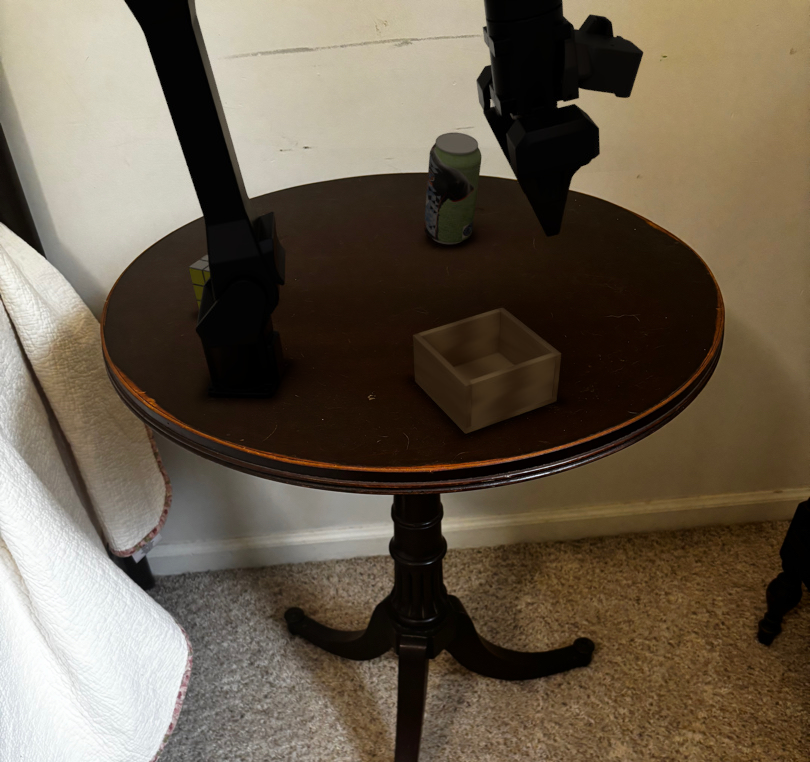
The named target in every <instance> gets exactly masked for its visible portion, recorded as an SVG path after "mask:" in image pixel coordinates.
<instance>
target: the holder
mask: <svg viewBox="0 0 810 762" xmlns="http://www.w3.org/2000/svg"><path fill="white" fill-rule="evenodd" d="M412 344H413V365H414V366H413V368H414V382H415V384H417V385H418V387H420V389H422V390H423V392H424V393H425V394H426V395H427V396H429V398H430V399H432V401H433V402H434V403H435V404H436V405H437V406H438V407H439V408H440V410H442V412H444V414H446V415H447V417H449V419H451V421H453V423H454V424H456V426H457V427H458V428H459V429H460V430H461V431H462V432H463V433H464V434H465V435H466V434H469V433H472V432H476V431H478V430H480V429H483V428H486V427H489V426H491V425H495V424H498V423H500V422H503V421H506V420H508V419H509V420H510V419H512V418H514V417H516V416H517V417H518V416H519V415H522V414H525V413H528V412H531V411H534V410H536V409H539V408H541V407H545V406H547V405H550V404H553V403H555V402H557V400H558V391H559V381H560V371H561V361H562V353H561V351H559V350H557V349H556V348H555V347H554V346H552V345H551V344H550V343H548V341H546V340H545V339H544V338H542V337H541V336H540V335H539V334H537V333H536V332H535V331H534V330H532V329H531V328H530V327H529V326H527V325H526V324H524V323H523V322H522V321H521V320H519V319H518V318H517V317H515V316H514V314H512V313H510V312H509V311H508V310H507V309H505V308H504V307H498V308H495V309H492V310H489V311H485V312H483V313H479V314H476V315H473V316H469V317H466V318H464V319H463V318H462V319H460V320H457V321H454V322H450V323H447V324H443V325H441V326H438V327H437V326H436V327H433V328H430V329H428V330H424V331H421V332H418V333H415V334H413V335H412Z"/></svg>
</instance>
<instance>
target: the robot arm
mask: <svg viewBox="0 0 810 762" xmlns="http://www.w3.org/2000/svg"><path fill="white" fill-rule="evenodd" d="M123 2H124V3H125V5H126V6H127V8H128V9H129V11H130V12H131V14H132V15H133V17H134V18H135V20H136V22H137V23H138V25H139V27H140V29H141V31H142V33H143V36H144V39H145V41H146V44H147V47H148V50H149V54H150V56H151V57H150V58H151V60H152V63H153V65H154V68H155V73H156V75H157V77H158V82H159V84H160V87H161V91H162V92H163V97H164V99H165V102H166V105H167V109H168V112H169V116H170V118H171V121H172V124H173V127H174V130H175V134H176V136H177V139H178V142H179V147H180V149H181V152H182V155H183V158H184V161H185V164H186V168H187V171H188V173H189V176H190V179H191V182H192V185H193V189H194V192H195V194H196V199H197V201H198V203H199V206H200V207H199V208H200V209H201V213H202V216H203V219H204V226H205V227H204V228H205V239H206V251H207V254H208V264H209V271H210V277H209V279H208V280H207V281H206V282H205V284H204V286H203V291H202V297H201V303H200V308H199V307H198V315H197V321H196V326H195V333H196V334H197V336H198V337H199V339H200V341H201V346H202V350H203V352H204V357H205V361H206V365H207V369H208V374H209V376H210V381H209V383H208V386H207V387H206V394H207V396H210V397H237V398H238V397H239V398H271V397H272V396H273V394H274V392H275V390H276V387H277V385H278V383H279V382H280V381H281V379H282V377H283V373H284V371H285V369H286V359H285V356H284V350H283V346H282V340H281V335H280V334H281V333H280V331H278V330H274V325H273V319H272V315H273V313H274V311H275V310H276V309H277V307H278V305H279V302H280V286H283V287H284V285H286V249H285V247H284V246H283V245H282V243H281V242H280V239H279V236H278V233H277V232H278V231H277V224H276V214H275V211H269V212H268V213H265V214H262V215H260V214H259V212H258V211H257V209H256V207H255V206H254V204H253V203H252V201H251V199H250V197H249V195H248V191H247V188H246V184H245V182H244V178H243V177H244V176H243V174H242V171H241V167H240V164H239V161H238V156H237V153H236V149H235V145H234V143H233V139H232V136H231V131H230V127H229V125H228V121H227V118H226V114H225V109H224V106H223V103H222V100H221V96H220V92H219V88H218V85H217V81H216V78H215V74H214V71H213V68H212V65H211V61H210V57H209V54H208V50H207V46H206V42H205V40H204V36H203V31H202V29H201V25H200V21H199V18H198V14H197V7H196V0H123ZM563 4H564V2H563V0H483V6H484V15H485V24H486V25H485V26H482V32H483V33H482V34H483V42H484V43H485V45H486V46H487V48H488V51H489V59H490V64H489V65H485V66H484V67H483V69H482V70H481V72H480V73H479V75H478V77H477V78H476V88H477V96H478V103H479V106H480V107H481V108H482V113H483V115H484V118H485V119H486V121H487V124H488V125H489V128H490V130H491V131H492V133H493V136H494V137H495V139H496V141H497V144H498V146H499V147H500V149H501V151H502V153H503V155H504V157H505V159H506V162H507V163H508V165H509V167H510V169H511V171H512V173H513V174H514V176H515V178H516V181H517V183H518V184H519V187H520V188H521V191H522V192H523V194H524V195H525V197H526V198H527V200H528V202H529V205H530V206H531V208H532V210H533V212H534V215H535V216H536V219H537V221H538V222H539V224H540V226H541V229H542V231H543V233H544V234H545V236H546V237H548V238H550V237H554V236H558V235H559V234H560V232H561V229H562V225H563V219H564V214H565V209H566V205H567V200H568V195H569V191H570V188H571V184H572V181H573V178H574V176H575V174H576V173H577V172H578V171H579V170H580V169H581V168H582V167H585V166H588V165H589V164H590V163H591V162H592V160H594V159H596V158H597V157H598V156H600V154H601V148H600V127H599V126H598V125H597V124H596V123H595V121H594V120H593V119H592V118H591V117H590V115H589V114H588V113H587V111H585V110H584V109H582V108H581V107H579V106H578V105H577V104H576V103H572V104H568V105H564V106H560V107H558V106H559V103H558V102H561V101H562V102H563V103H565V102H566V103H567V102H570V101H574V100H579V99H580V90H581V89H582V90H585V91H591V92H598V93H606V94H613V95H614V96H615V97H616V98H620V99H628V98H630V97H631V94H632V92H633V88H634V86H635V82H636V78H637V76H638V72H639V69H640V66H641V62H642V59H643V56H644V51H643V50H642V49H641V48H640V47H638V45H636V44H635V43H634V42H632V41H631V40H629V39H625V38H624V37H623V36H622V35H616V36H614V28H613V23H612V21H611V19H609V18H608V17H606V16H604V15H598V14H589V15H587V17H586V19H585V20H584V21H583V23H582V24H581V25H580V27H579V28H578V29H577V28H575V26H574V25H573V23H571V22H570V21H569V20H568V19H567V18H566V17H565V16H564V5H563Z"/></svg>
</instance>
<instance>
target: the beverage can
mask: <svg viewBox="0 0 810 762" xmlns="http://www.w3.org/2000/svg"><path fill="white" fill-rule="evenodd" d="M481 165H482V153H481V150H480V148H479V142H478V140H477V139H476V138H475V137H473V136H472V135H469V134H467V133H462V132H446V133H442V134H440V135H438V136H437V137H436V138H435V142H434V144H433V145H432V147H431V148H430V150H429V158H428V170H427V182H426V195H425V208H424V220H423V229H424V232H425V234H426V235H427V236H428V237H429V238H431V239H432V240H433V241H435V242H436V243H439V244H442V245H457V244H460V243H461V242H463V241H466V240H468V238H470V236H471V235H472V234H473V229H474V219H475V211H476V205H477V196H478V189H479V181H480V174H481V167H482V166H481Z"/></svg>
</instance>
